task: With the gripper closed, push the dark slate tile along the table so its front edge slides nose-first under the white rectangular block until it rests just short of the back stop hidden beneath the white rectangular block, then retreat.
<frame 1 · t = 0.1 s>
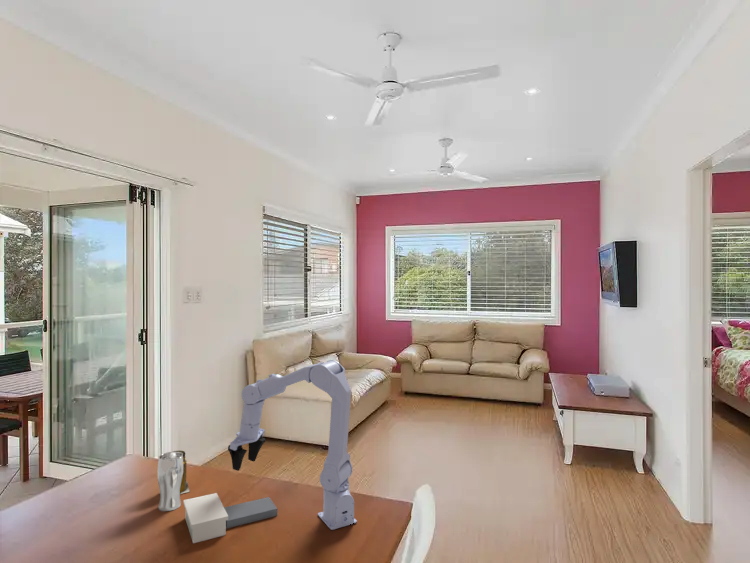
hand: (244, 464, 136), 11 cm above the table, tool pointing down, fingers open, 7 cm apart
beer glass: (169, 507, 131), on the table
white rectangular block: (204, 526, 120), on the table
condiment: (176, 490, 142), on the table
slate tile: (248, 517, 126), on the table
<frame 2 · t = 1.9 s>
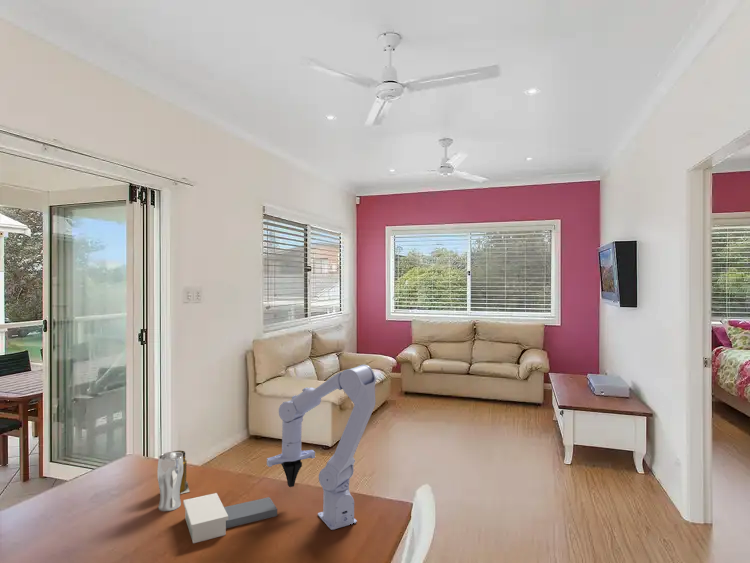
hand: (290, 485, 133), 6 cm above the table, tool pointing down, fingers closed
nothing on the table moved.
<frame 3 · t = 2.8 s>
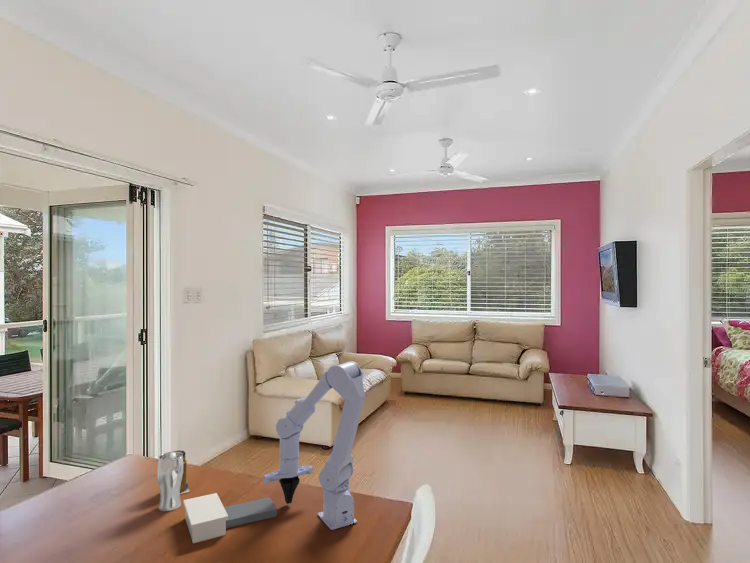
hand: (288, 501, 132), 1 cm above the table, tool pointing down, fingers closed
nothing on the table moved.
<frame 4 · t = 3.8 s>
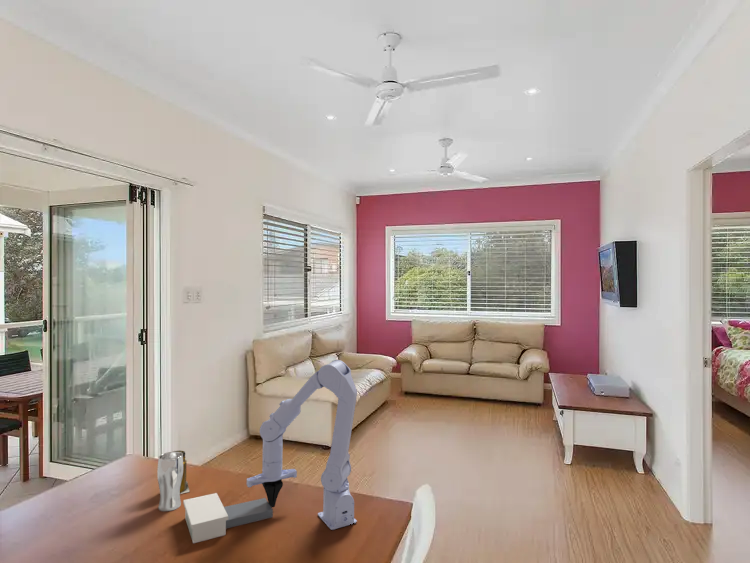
hand: (271, 506, 130), 1 cm above the table, tool pointing down, fingers closed
slate tile: (244, 517, 126), on the table, touching gripper
everything else where it was.
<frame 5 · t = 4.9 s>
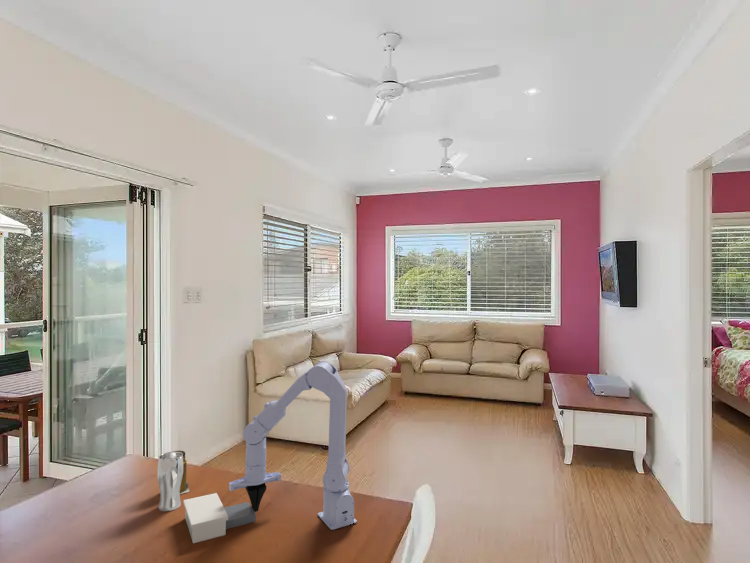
hand: (255, 510, 127), 1 cm above the table, tool pointing down, fingers closed
slate tile: (226, 522, 123), on the table, touching gripper
everything else where it was.
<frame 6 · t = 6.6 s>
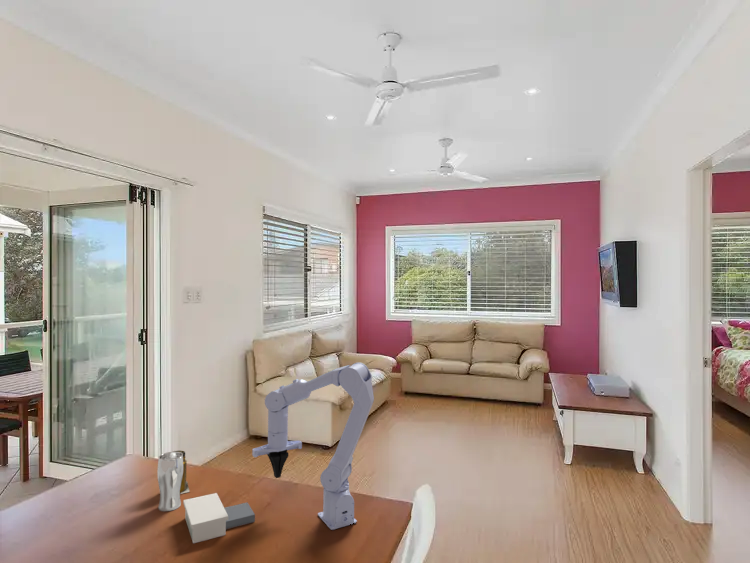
hand: (277, 476, 131), 9 cm above the table, tool pointing down, fingers closed
slate tile: (225, 523, 123), on the table
everything else where it was.
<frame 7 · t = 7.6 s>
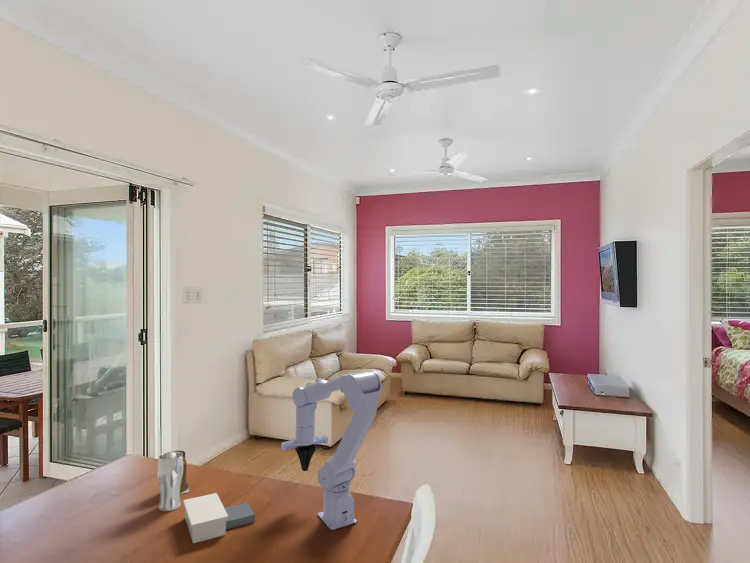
hand: (304, 469, 136), 9 cm above the table, tool pointing down, fingers closed
nothing on the table moved.
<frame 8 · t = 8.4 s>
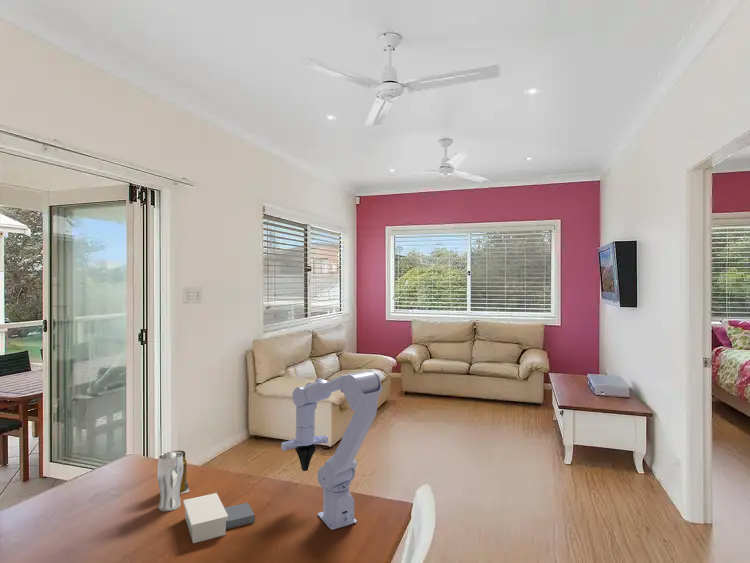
hand: (304, 469, 136), 9 cm above the table, tool pointing down, fingers closed
nothing on the table moved.
at the end: slate tile 0.5 cm from the target spot on the white rectangular block, point -0.5 cm above the white rectangular block's base; slate tile tilted 0° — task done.
